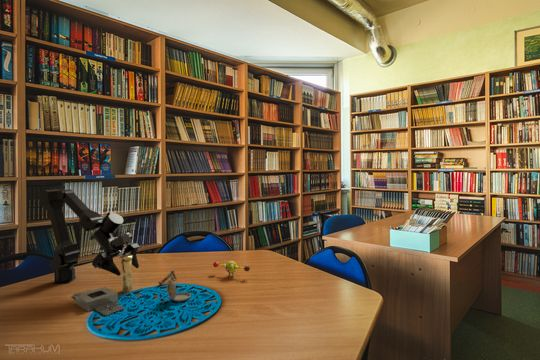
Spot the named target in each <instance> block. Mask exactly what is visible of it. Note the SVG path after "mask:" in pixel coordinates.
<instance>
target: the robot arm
mask: <svg viewBox="0 0 540 360" xmlns="http://www.w3.org/2000/svg"><path fill="white" fill-rule="evenodd" d="M38 195H39V196H38V199H39V202H40V204H41V207H42V208H44V210H46V211H47V212H48V215H49V220H50V224H51V228H52V231H53V235H54V238H55V239H54V240H55V242H56V246H55V247H54V252H53V255H54V257H53V259H51V261H50V262H49V267H50V269H51V270H53V271H54V272H53V273H54V275H53V277H54V280H53V281H52V283H51V284H68V283H71V282H72V281H73V280H75V279H76V278H77V276H76V268H75V265H77V264H78V262H79V259H80V252H81V251H80V249H79V244H78V243H76V242H75V243H74V242H73V241H71V238H70V233H69V229H68V226H67V222H66V218H65V213H64V210H63V207H64V205H66V206H67V207H68V208H69V209H70V210H71V211H72V212H73V213H74V215H76V216H77V218H78V221H79V222H78V223H79V225H80V226H81V227H82V229H83V230H84V231H86V232H91V231H94V232H91V233H90V238H89V239H90V241H93V240H95V241H96V242H97V244H98V245H99V246H100V247H99V250H100V251H101V252H99V253H97V255H96V256H95V257H94V258H93V260H92V261H91V264H92V267H94V269H102V270H105V271H106V272H109V273H111V274H114V275H116V276H119V277H120V276H122V272H121V271H120V270H119V268H118V267H117V265H116V263H115V262H114V258H118V257H120V256H123V255H133V258H132V266H133V267H134V268H135V269H139V267H140V265H139V261H138V259H137V258H138V257H137V252H138V251H139V248H140V245H139V243H137V242H133V243H132V240H133V236H132V235H133V234H131V233H130V232H126V233H124V234H123V235H120V236H116V237H114V235H113V234H114V233H116V232H117V230H118V229H119V228H120V226H122V224H123V223H124V218H123V216H121V215H120V214H118V213H115V212H114V211H113V210H112V211H108V212H107V214H106V216H103V215H101V214H100V213H98V211H96V210H95V211H94V210H93V209H91V208H89V207H88V206H87V204H85V203H84V202H83V201H82V200H81V198H79V196H78V195H76V194H75V191H74V190H73V189H69V188H68V189H67V188H66V189H46V190H42V191H41V192H40V193H39V194H38ZM128 243H129V244H128ZM126 244H127V246H126Z"/></svg>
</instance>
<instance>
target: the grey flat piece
mask: <svg viewBox="0 0 540 360" xmlns="http://www.w3.org/2000/svg"><path fill="white" fill-rule="evenodd" d="M72 297H73V298H75V302H74V303H75V305H77V306H78V307H80V308H82V309H83V310H84V311H86V312H90V311H91V312H92V311H94V310H95V311H96V312H97V313H99V312H100V313H99V314H101V313H102V314H101V315H103V316H104V315H105V317H107V316H110V315H112V314H111V313H113V312H116V311H118V312H120V311H119V310H121V311H123V310H122V309H124V308H125V307H122V306H121V305H119V304H118V303H117V302H119V293H118V292H116V291H115V290H113V289H110V288H109V287H106V286H103V287H99V288H96V289H93V290H91V289H88V290H85V291H81V292H78V293H75V294H72ZM124 310H125V309H124ZM116 313H117V312H116ZM109 314H110V315H109ZM113 314H114V313H113ZM106 315H107V316H106Z"/></svg>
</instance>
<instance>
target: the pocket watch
mask: <svg viewBox="0 0 540 360" xmlns="http://www.w3.org/2000/svg"><path fill="white" fill-rule="evenodd" d="M172 278H174V276H172V274H171V275H170V277H169V279H168V281H167V284H166V286H167V287H166V289H167V295H168V297H169V299H170V300H172V301H174V302H184V301H187V300H188V301H189V299H190V298H191V296H192V295H191V293H190V292H178V293H177V288H176V284H175V282H174V281H173V280H174V279H172Z"/></svg>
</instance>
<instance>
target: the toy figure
mask: <svg viewBox="0 0 540 360" xmlns="http://www.w3.org/2000/svg"><path fill="white" fill-rule="evenodd" d="M212 266H213V267H214V268H218V267H219V266H220V268H224V269H225V271H226V272H227V273H228V275H227V276H228V277H231V278H232V277H235V275H234V273H235V272H236V271H237V270H242V269H243V270H244V272H249V271H250V270H251V269H250V268H251V267H250V266H249V265H244V267H242V266H238V264H237V262H235V261H234V260H229V261H226V263H224V264H223V263H222V264H220V263H219V262H218V261H214V262H213V264H212Z"/></svg>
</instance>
